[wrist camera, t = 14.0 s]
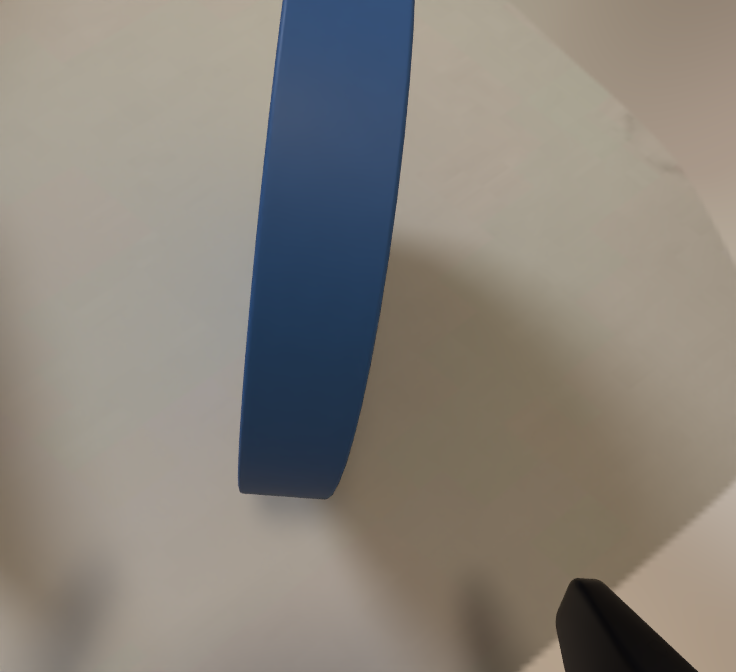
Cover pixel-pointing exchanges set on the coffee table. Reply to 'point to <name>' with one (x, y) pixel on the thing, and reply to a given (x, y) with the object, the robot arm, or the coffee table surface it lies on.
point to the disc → (322, 238)
